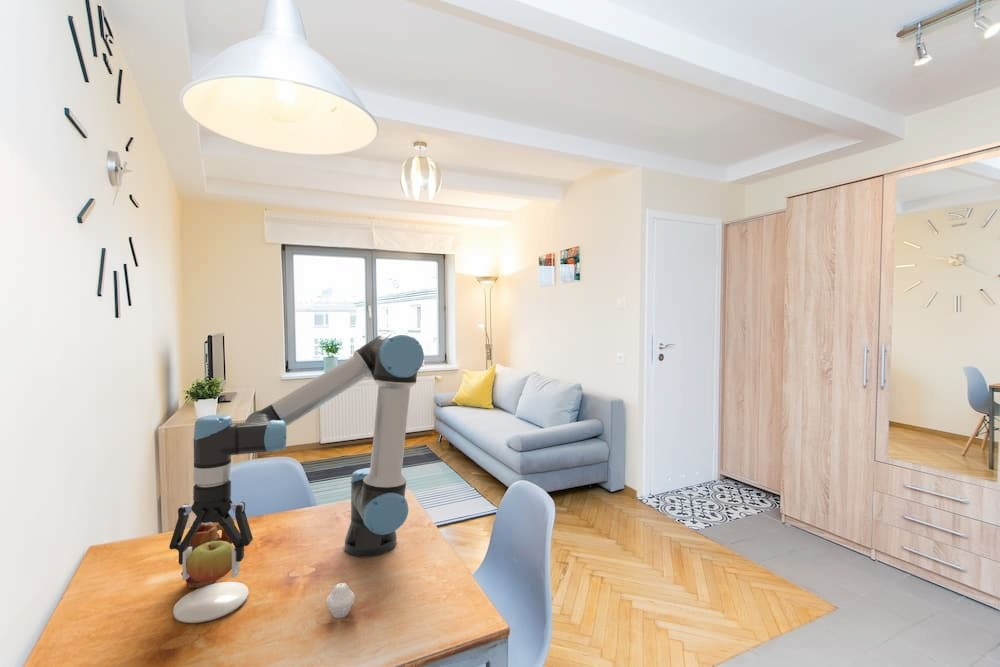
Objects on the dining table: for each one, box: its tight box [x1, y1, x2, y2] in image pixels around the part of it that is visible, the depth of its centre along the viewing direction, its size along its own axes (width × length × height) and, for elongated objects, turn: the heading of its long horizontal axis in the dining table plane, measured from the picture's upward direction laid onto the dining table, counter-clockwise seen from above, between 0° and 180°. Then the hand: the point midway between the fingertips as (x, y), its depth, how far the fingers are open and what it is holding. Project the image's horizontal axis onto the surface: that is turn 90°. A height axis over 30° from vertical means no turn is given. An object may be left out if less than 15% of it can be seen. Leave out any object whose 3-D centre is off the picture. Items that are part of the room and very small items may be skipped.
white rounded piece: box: [326, 582, 356, 619], centre depth 105 cm, size 6×6×7 cm
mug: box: [181, 516, 236, 589], centre depth 120 cm, size 15×8×15 cm, turn 168°
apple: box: [187, 541, 234, 582], centre depth 108 cm, size 10×10×8 cm
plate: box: [173, 581, 249, 624], centre depth 108 cm, size 15×15×1 cm
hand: (211, 575), depth 108 cm, fingers closed on apple, 10 cm apart
